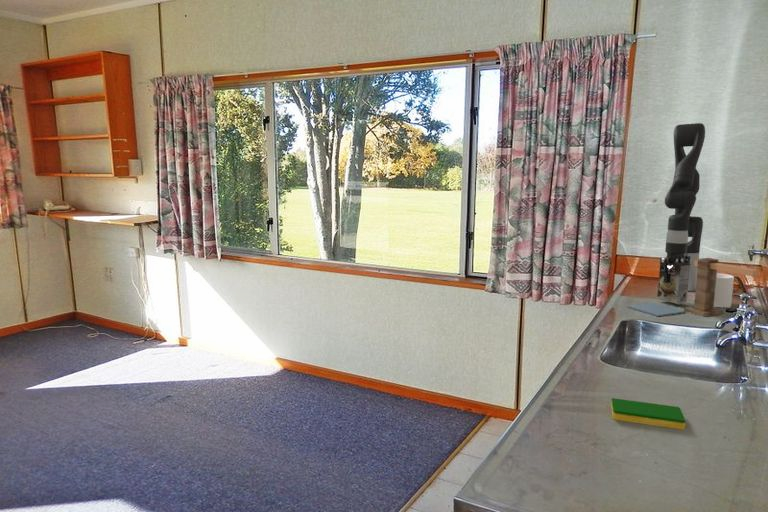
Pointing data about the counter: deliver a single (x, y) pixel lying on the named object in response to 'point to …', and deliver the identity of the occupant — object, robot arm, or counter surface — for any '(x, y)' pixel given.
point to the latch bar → (731, 268)
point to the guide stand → (705, 289)
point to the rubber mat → (656, 309)
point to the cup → (723, 290)
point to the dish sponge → (647, 413)
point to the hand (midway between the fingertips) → (673, 281)
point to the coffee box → (675, 283)
